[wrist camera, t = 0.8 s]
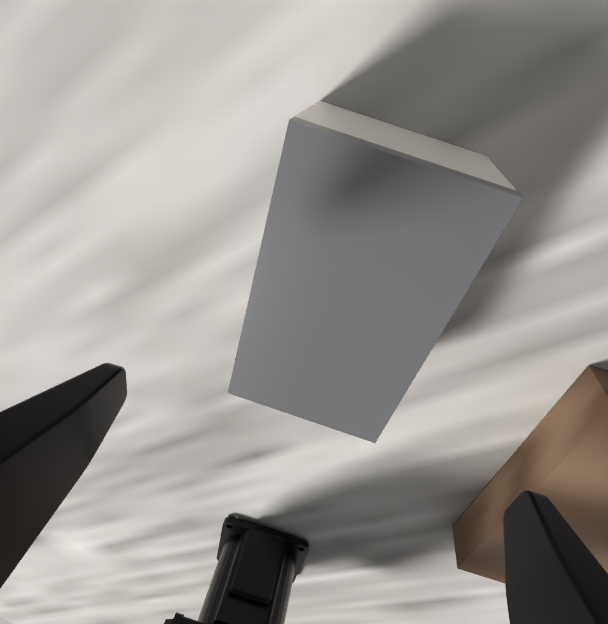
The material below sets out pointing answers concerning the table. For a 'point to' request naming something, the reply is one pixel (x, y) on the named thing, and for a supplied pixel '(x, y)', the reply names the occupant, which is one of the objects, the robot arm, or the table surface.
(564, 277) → the table surface
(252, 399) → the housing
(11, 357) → the table surface
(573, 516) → the walnut stand
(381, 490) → the table surface
